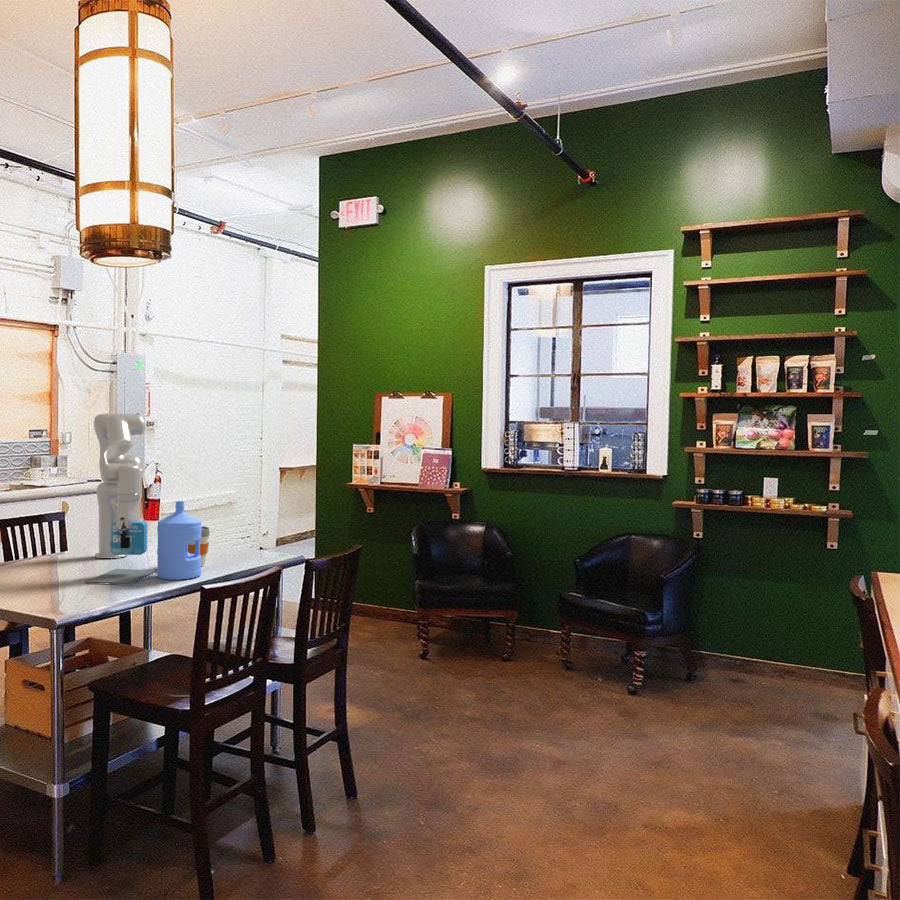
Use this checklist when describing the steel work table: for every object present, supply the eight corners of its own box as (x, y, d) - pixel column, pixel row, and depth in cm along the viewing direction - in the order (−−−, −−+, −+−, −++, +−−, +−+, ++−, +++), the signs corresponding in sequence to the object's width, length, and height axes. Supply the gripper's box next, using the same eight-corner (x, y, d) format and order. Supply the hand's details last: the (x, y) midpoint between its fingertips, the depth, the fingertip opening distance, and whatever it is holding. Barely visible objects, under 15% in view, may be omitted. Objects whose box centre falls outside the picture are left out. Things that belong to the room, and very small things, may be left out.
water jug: (154, 581, 276) (155, 504, 275) (159, 572, 291) (159, 499, 290) (200, 580, 280) (200, 504, 279) (202, 571, 295) (202, 499, 294)
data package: (110, 555, 282) (110, 522, 282) (113, 552, 287) (114, 521, 286) (144, 554, 284) (144, 522, 283) (147, 552, 288) (147, 521, 288)
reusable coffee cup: (203, 569, 299) (203, 531, 299) (171, 568, 300) (171, 530, 299) (213, 563, 312) (214, 526, 311) (183, 562, 312) (183, 525, 311)
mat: (116, 570, 292) (116, 568, 292) (156, 572, 291) (156, 570, 291) (85, 583, 270) (84, 581, 270) (128, 585, 269) (128, 582, 269)
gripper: (130, 495, 293) (130, 542, 294) (107, 500, 276) (107, 550, 277) (149, 496, 293) (149, 543, 294) (127, 500, 276) (127, 550, 276)
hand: (128, 546), depth 285 cm, fingers closed on data package, 5 cm apart
